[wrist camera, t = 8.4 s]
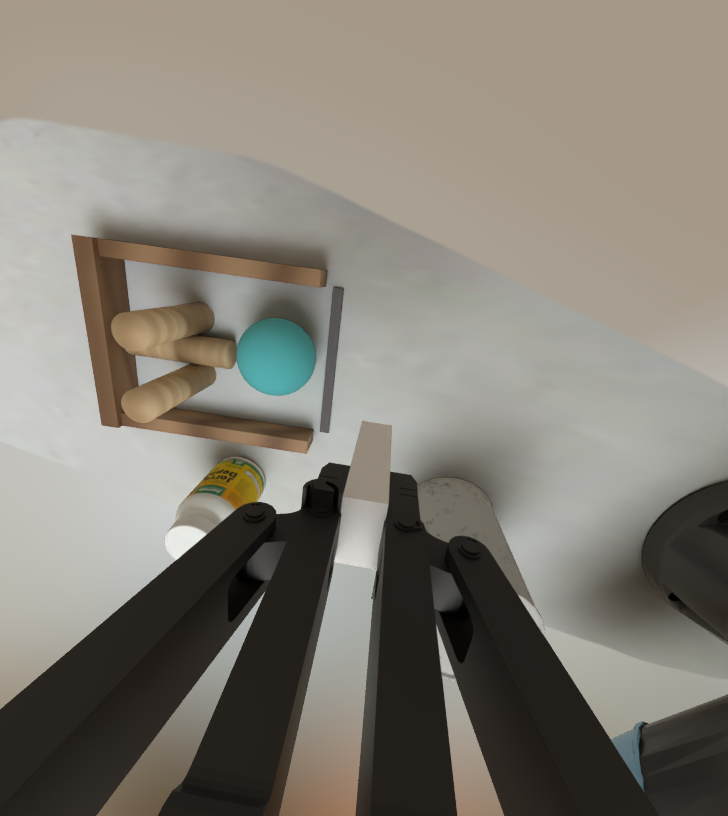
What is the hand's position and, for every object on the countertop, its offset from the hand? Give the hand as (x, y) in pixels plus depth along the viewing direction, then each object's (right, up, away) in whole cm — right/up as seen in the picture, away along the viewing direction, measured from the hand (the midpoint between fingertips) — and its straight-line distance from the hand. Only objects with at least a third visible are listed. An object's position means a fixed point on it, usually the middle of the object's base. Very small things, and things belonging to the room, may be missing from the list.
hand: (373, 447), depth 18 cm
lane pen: (-13, +7, +13) cm, 20 cm away
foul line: (-3, +6, +12) cm, 14 cm away
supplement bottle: (-13, -5, +18) cm, 22 cm away
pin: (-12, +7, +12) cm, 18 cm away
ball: (-7, +6, +9) cm, 13 cm away
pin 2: (-15, +5, +14) cm, 21 cm away
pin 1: (-14, +10, +12) cm, 21 cm away
